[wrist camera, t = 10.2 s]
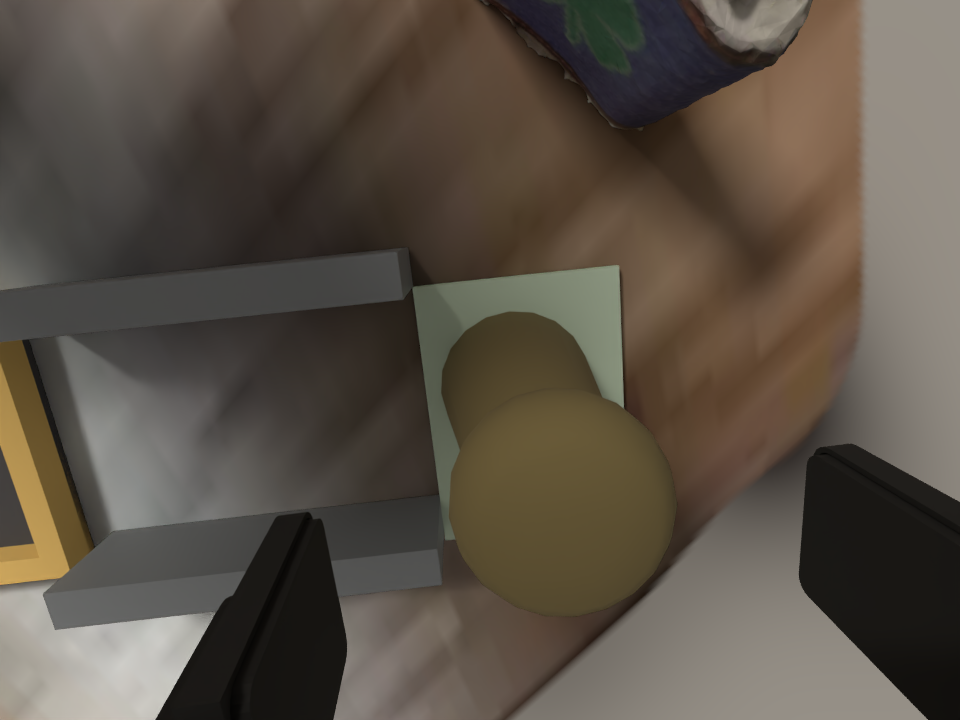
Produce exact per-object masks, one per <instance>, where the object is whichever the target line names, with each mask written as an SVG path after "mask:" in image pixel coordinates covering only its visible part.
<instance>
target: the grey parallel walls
mask: <svg viewBox="0 0 960 720" xmlns="http://www.w3.org/2000/svg"><path fill="white" fill-rule="evenodd" d="M412 287H413V281H412V274H411V266H410V258H409V251H408V247H405V248H395V249H385V250H376V251H366V252H356V253H347V254H337V255H327V256H318V257H308V258H298V259H289V260H279V261H269V262H260V263H250V264H240V265H231V266H221V267H211V268H202V269H192V270H182V271H173V272H163V273H153V274H144V275H134V276H124V277H115V278H105V279H95V280H86V281H76V282H66V283H57V284H47V285H38V286H30V287H23V288H16V289H8V290H1V291H0V342H7V341H16V340H26V339H35V338H45V337H54V336H64V335H73V334H83V333H92V332H102V331H111V330H121V329H130V328H140V327H149V326H159V325H168V324H178V323H187V322H197V321H206V320H216V319H225V318H235V317H244V316H254V315H263V314H273V313H282V312H292V311H301V310H311V309H320V308H330V307H339V306H349V305H358V304H368V303H377V302H387V301H396V300H404V298H405V297H406V295H407V294H408V293H409V291H410V290H411V289H412ZM303 512H309V513H311V515H312V517H313V519H318V518H320V519H322V522H323V525H324V529H325V534H326V539H327V544H328V549H329V554H330V559H331V564H332V569H333V574H334V578H335V583H336V588H337V593H338V597H342V596H351V595H360V594H368V593H377V592H385V591H394V590H403V589H411V588H420V587H428V586H437V585H442V573H443V547H444V526H443V518H442V510H441V503H440V495H431V496H422V497H413V498H404V499H395V500H386V501H377V502H368V503H360V504H351V505H342V506H333V507H324V508H315V509H306V510H297V511H289V512H280V513H271V514H262V515H253V516H244V517H235V518H226V519H218V520H209V521H200V522H191V523H182V524H173V525H164V526H155V527H147V528H138V529H129V530H120V531H113V532H112V533H111V534H110V535H109V536H108V537H107V538H105V539H104V540H103V541H102V542H101V543H100V544H99V545H97V546H96V547H95V548H94V549H93V550H92V551H91V552H90V553H88V554H87V555H86V556H85V557H84V558H83V559H82V560H81V561H79V562H78V563H77V564H76V565H75V566H74V567H73V568H72V569H70V570H69V571H68V572H67V573H66V574H65V575H64V576H63V577H61V578H60V579H59V580H58V581H57V582H56V583H55V584H54V585H52V586H51V587H50V588H49V589H48V590H47V591H46V592H44V593H43V597H44V600H45V602H46V605H47V608H48V611H49V614H50V617H51V619H52V622H53V625H54V628H55V630H58V629H67V628H75V627H84V626H92V625H101V624H110V623H118V622H127V621H136V620H144V619H153V618H161V617H170V616H179V615H187V614H196V613H204V612H213V611H217V610H218V608H219V607H220V605H221V604H222V602H223V601H224V600H225V599H226V598H228V597H229V596H233V594H234V592H235V591H236V589H237V587H238V585H239V583H240V582H241V580H242V578H243V576H244V574H245V572H246V571H247V569H248V567H249V565H250V563H251V561H252V560H253V558H254V556H255V554H256V552H257V550H258V549H259V547H260V545H261V543H262V541H263V539H264V538H265V536H266V534H267V532H268V530H269V528H270V527H271V525H272V523H273V521H274V519H275V518H276V517H277V516H279V515H287V514H295V513H303Z"/></svg>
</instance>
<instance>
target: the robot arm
mask: <svg viewBox="0 0 960 720" xmlns="http://www.w3.org/2000/svg"><path fill="white" fill-rule="evenodd" d="M801 539H802V540H801V553H800V566H799V579H800V583H801V586H802V588H803V590H804V591H805V593H806V594H807V596H808V597H809V598H810V599H811V600H812V601H813V602H814V603H815V604H816V605H817V606H818V607H819V608H820V609H821V610H822V611H823V612H824V613H825V614H826V615H827V616H828V617H829V618H830V619H831V620H832V621H833V622H834V623H835V624H836V626H837V627H838V628H839V629H840V630H841V631H842V632H843V633H844V634H845V635H846V636H847V637H848V638H849V639H850V640H851V641H852V642H853V643H854V644H855V645H856V646H857V647H858V648H859V649H860V650H861V651H862V652H863V653H864V654H865V655H866V656H867V657H868V658H869V659H870V661H871V662H872V663H873V664H874V665H875V666H876V667H877V668H878V669H879V670H880V671H881V672H882V673H883V674H884V675H885V676H886V677H887V678H888V679H889V680H890V681H891V682H892V683H893V684H894V685H895V686H896V687H897V688H898V689H899V690H900V691H901V692H902V693H903V695H904V696H905V697H907V699H909V701H910V702H911V703H912V704H913V705H914V706H915V707H916V708H917V709H918V710H919V711H920V712H921V713H922V714H923V715H924V716H925V717H926V718H927V719H928V720H960V502H959V501H957V500H955V499H953V498H951V497H950V496H948V495H946V494H944V493H942V492H940V491H939V490H937V489H935V488H933V487H931V486H929V485H928V484H926V483H924V482H922V481H920V480H918V479H917V478H915V477H913V476H911V475H909V474H908V473H906V472H904V471H902V470H900V469H898V468H897V467H895V466H893V465H891V464H889V463H887V462H886V461H884V460H882V459H880V458H878V457H876V456H875V455H872V454H871V453H869V452H867V451H866V450H864V449H862V448H860V447H858V446H856V445H853V444H843V445H835V446H828V447H820V448H818V449H817V450H816V452H815V453H814V456H812V457H810V458H809V460H808V462H807V471H806V486H805V498H804V511H803V525H802V538H801ZM346 656H347V639H346V633H345V628H344V623H343V618H342V613H341V608H340V603H339V598H338V593H337V588H336V583H335V578H334V574H333V569H332V564H331V559H330V554H329V549H328V544H327V539H326V534H325V529H324V525H323V522H322V519H320V518H318V519H313V517H312V515H311V513H309V512H303V513H295V514H287V515H279V516H277V517H276V518H275V519H274V521H273V523H272V525H271V527H270V528H269V530H268V532H267V534H266V536H265V538H264V539H263V541H262V543H261V545H260V547H259V549H258V550H257V552H256V554H255V556H254V558H253V560H252V561H251V563H250V565H249V567H248V569H247V571H246V572H245V574H244V576H243V578H242V580H241V582H240V583H239V585H238V587H237V589H236V591H235V592H234V594H233V596H229V597H228V598H226V599H225V600H224V601H223V602H222V604H221V605H220V607H219V608H218V610H217V612H216V614H215V615H214V617H213V619H212V621H211V623H210V624H209V626H208V628H207V630H206V631H205V633H204V635H203V637H202V638H201V640H200V642H199V644H198V645H197V647H196V649H195V651H194V653H193V654H192V656H191V658H190V660H189V661H188V663H187V665H186V667H185V668H184V670H183V672H182V674H181V676H180V677H179V679H178V681H177V683H176V684H175V686H174V688H173V690H172V691H171V693H170V695H169V697H168V699H167V700H166V702H165V704H164V706H163V707H162V709H161V711H160V713H159V714H158V716H157V718H156V720H333V719H334V714H335V709H336V704H337V700H338V695H339V690H340V686H341V681H342V676H343V671H344V667H345V662H346Z"/></svg>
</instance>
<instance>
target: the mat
mask: <svg viewBox="0 0 960 720" xmlns="http://www.w3.org/2000/svg"><path fill="white" fill-rule="evenodd" d="M412 289H413V296H414V304H415V312H416V319H417V327H418V335H419V342H420V350H421V358H422V365H423V373H424V380H425V388H426V396H427V403H428V411H429V419H430V426H431V434H432V442H433V449H434V457H435V464H436V472H437V480H438V487H439V495H440V503H441V510H442V518H443V526H444V533H445V540H454V539H455V536H454V533H453V530H452V526H451V523H450V520H449V500H450V480H451V471H452V469H453V466H454V464H455V462H456V459H457V457H458V454H459V452H460V449H459V446H458V443H457V440H456V437H455V434H454V432H453V429H452V426H451V423H450V420H449V418H448V415H447V411H446V408H445V404H444V401H443V398H442V394H441V386H442V370H443V367H444V364H445V362H446V359H447V357H448V354H449V352H450V349H451V348H452V346H453V345H454V344H455V343H456V342H457V340H458V339H459V338H460V337H461V336H462V334H463V333H464V332H465V331H466V330H467V329H469V328H470V327H472V326H474V325H475V324H477V323H478V322H480V321H481V320H483V319H484V318H486V317H490V316H494V315H497V314H501V313H505V312H509V311H513V312H532V313H536V314H538V315H541V316H544V317H546V318H549V319H551V320H554V321H556V322H557V323H558V324H560V325H561V326H562V327H563V328H564V329H566V330H567V331H568V332H569V333H570V334H571V335H573V336H574V338H575V340H576V341H577V343H578V345H579V346H580V348H581V350H582V351H583V353H584V355H585V357H586V359H587V361H588V364H589V366H590V369H591V371H592V373H593V376H594V378H595V381H596V383H597V385H598V388H599V390H600V393H601V395H602V397H603V398H605V399H608V400H611V401H613V402H616V403H617V404H619V405H620V406H621V407H622V408H624V395H623V366H622V337H621V307H620V278H619V266H618V265H611V266H602V267H592V268H583V269H573V270H564V271H554V272H544V273H535V274H525V275H516V276H506V277H497V278H487V279H478V280H468V281H459V282H449V283H440V284H430V285H420V286H413V287H412Z"/></svg>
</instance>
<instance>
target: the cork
mask: <svg viewBox="0 0 960 720" xmlns="http://www.w3.org/2000/svg"><path fill="white" fill-rule="evenodd" d="M441 394H442V398H443V401H444V404H445V408H446V411H447V415H448V418H449V420H450V423H451V426H452V429H453V432H454V434H455V437H456V440H457V443H458V446H459V449H460V452H459V454H458V457H457V459H456V462H455V464H454V466H453V469H452V471H451V480H450V500H449V520H450V523H451V526H452V530H453V533H454V536H455V539H456V542H457V546H458V548H459V551H460V553H461V555H462V557H463V559H464V561H465V562H466V563H467V565H468V566H469V567H470V569H471V570H472V571H473V573H474V574H475V575H476V577H477V578H478V579H479V581H480V582H481V583H482V585H484V586H485V587H487V588H488V589H490V590H491V591H493V592H494V593H496V594H497V595H499V596H500V597H501V598H503V599H504V600H506V601H507V602H509V603H511V604H512V605H514V606H516V607H518V608H521V609H524V610H527V611H531V612H534V613H537V614H540V615H544V616H565V617H577V616H581V615H585V614H589V613H593V612H597V611H601V610H605V609H608V608H609V607H611V606H613V605H615V604H616V603H618V602H620V601H622V600H623V599H625V598H627V597H629V596H631V595H632V594H634V593H635V592H636V591H637V590H638V589H639V588H640V587H641V586H642V585H643V584H644V583H645V582H646V581H647V580H648V579H649V578H650V577H651V576H652V575H653V574H654V573H655V571H656V569H657V567H658V565H659V564H660V562H661V560H662V558H663V556H664V554H665V552H666V550H667V548H668V546H669V544H670V541H671V538H672V534H673V528H674V522H675V516H676V510H677V500H676V494H675V489H674V483H673V478H672V473H671V470H670V467H669V463H668V460H667V459H666V457H665V455H664V454H663V452H662V450H661V449H660V447H659V445H658V443H657V442H656V440H655V438H654V437H653V435H652V433H651V432H650V431H649V430H648V429H647V428H646V427H645V426H644V425H643V424H642V423H641V422H639V421H638V420H637V419H636V418H635V417H633V416H632V415H631V414H630V413H628V412H627V411H626V410H625V409H624V408H622V407H621V406H620V405H619V404H617V403H616V402H613V401H611V400H608V399H605V398H603V397H602V395H601V393H600V390H599V388H598V385H597V383H596V381H595V378H594V376H593V373H592V371H591V369H590V366H589V364H588V361H587V359H586V357H585V355H584V353H583V351H582V350H581V348H580V346H579V345H578V343H577V341H576V340H575V338H574V336H573V335H571V334H570V333H569V332H568V331H567V330H566V329H564V328H563V327H562V326H561V325H560V324H558V323H557V322H556V321H554V320H551V319H549V318H546V317H544V316H541V315H538V314H536V313H532V312H513V311H509V312H505V313H501V314H497V315H494V316H490V317H486V318H484V319H483V320H481V321H480V322H478V323H477V324H475V325H474V326H472V327H470V328H469V329H467V330H466V331H465V332H464V333H463V334H462V336H461V337H460V338H459V339H458V340H457V342H456V343H455V344H454V345H453V346H452V348H451V349H450V352H449V354H448V357H447V359H446V362H445V364H444V367H443V370H442V386H441Z"/></svg>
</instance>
